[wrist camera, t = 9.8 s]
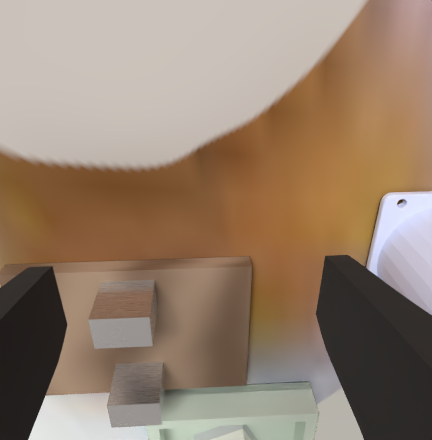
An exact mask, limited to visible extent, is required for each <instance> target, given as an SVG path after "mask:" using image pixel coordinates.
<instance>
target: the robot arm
mask: <svg viewBox="0 0 432 440" xmlns="http://www.w3.org/2000/svg"><path fill="white" fill-rule="evenodd" d="M401 199H403V201H402V203H401V204H398V205H397V203H398V201H399V200H401ZM316 315H317V319H318V323H319V326H320V330H321V334H322V337H323V341H324V344H325V347H326V350H327V352H328V355H329V357H330V360H331V362H332V364H333V367H334V369H335V371H336V374H337V376H338V379H339V381H340V383H341V385H342V388H343V390H344V392H345V395H346V397H347V399H348V401H349V404H350V406H351V409H352V411H353V413H354V416H355V418H356V420H357V423H358V425H359V427H360V430H361V433H362V435H363V438H364V440H432V191H430V192H393V193H388V194H386V195H385V196H384V197H383V198H382V200H381V203H380V207H379V212H378V216H377V221H376V225H375V230H374V234H373V239H372V243H371V248H370V252H369V257H368V261H367V265H366V268H365V267H364V266H363V265H361V264H360V263H359V262H357V261H356V260H354V259H353V258H351V257H350V256H348V255H337V256H325V261H324V268H323V274H322V280H321V287H320V293H319V299H318V305H317V312H316ZM66 330H67V321H66V317H65V313H64V309H63V305H62V301H61V297H60V293H59V289H58V286H57V282H56V278H55V274H54V270H53V266H42V267H28V268H26V269H25V270H24V271H22V272H21V273H19V274H18V275H17V276H15V277H14V278H13V279H11V280H10V281H9V282H7V283H6V284H5V285H3V286H2V287H1V288H0V440H28V438H29V436H30V433H31V431H32V428H33V426H34V423H35V421H36V418H37V415H38V413H39V410H40V408H41V405H42V403H43V400H44V398H45V395H46V393H47V390H48V388H49V385H50V383H51V380H52V377H53V375H54V372H55V370H56V367H57V364H58V362H59V358H60V354H61V351H62V347H63V343H64V338H65V334H66Z"/></svg>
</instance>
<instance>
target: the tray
mask: <svg viewBox="0 0 432 440" xmlns="http://www.w3.org/2000/svg"><path fill="white" fill-rule="evenodd" d="M318 417H319V411H318V408H317V404H316V401H315V398H314V395H313V392H312V388H311V385H310V382H294V383H274V384H253V385H246V386H229V387H208V388H188V389H167V390H164V404H163V417H162V425H149V426H146V427H147V434H148V440H194V435H195V434H198V433H201V432H204V431H207V430H210V429H212V428H215V427H218V426H227V425H247V426H248V428H249V429H250V431H251V432H252V433H253V435H254V436H255V437H256V439H257V440H314V438H315V432H316V428H317V422H318Z"/></svg>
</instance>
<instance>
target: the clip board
mask: <svg viewBox="0 0 432 440" xmlns="http://www.w3.org/2000/svg"><path fill="white" fill-rule="evenodd" d="M42 266H53V270H54V274H55V278H56V282H57V286H58V289H59V293H60V297H61V301H62V305H63V309H64V313H65V317H66V321H67V330H66V334H65V338H64V343H63V347H62V351H61V354H60V358H59V362H58V364H57V367H56V370H55V372H54V375H53V377H52V380H51V383H50V385H49V388H48V390H47V393H46V395H64V394H85V393H105V392H110V395H109V399H108V404H107V408H108V413H109V417H110V422H111V426H112V427H130V426H149V425H162V417H163V404H164V390H167V389H188V388H208V387H229V386H246V380H247V359H248V338H249V318H250V297H251V277H252V264H251V260H250V256H248V257H219V258H189V259H160V260H130V261H101V262H71V263H42V264H12V265H4V267H3V268H2V269H1V271H0V285H1V287H2V286H3V285H5V284H6V283H7V282H9V281H10V280H11V279H13V278H14V277H15V276H17V275H18V274H19V273H21V272H22V271H24V270H25V269H26V268H28V267H42Z"/></svg>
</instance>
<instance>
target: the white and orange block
mask: <svg viewBox="0 0 432 440" xmlns="http://www.w3.org/2000/svg"><path fill="white" fill-rule="evenodd" d="M194 440H257V439H256V437H255V436H254V435H253V433H252V432H251V431H250V429H249V428H248V426H247V425H227V426H218V427H215V428H212V429H210V430H207V431H204V432H201V433H198V434H195V435H194Z"/></svg>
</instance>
